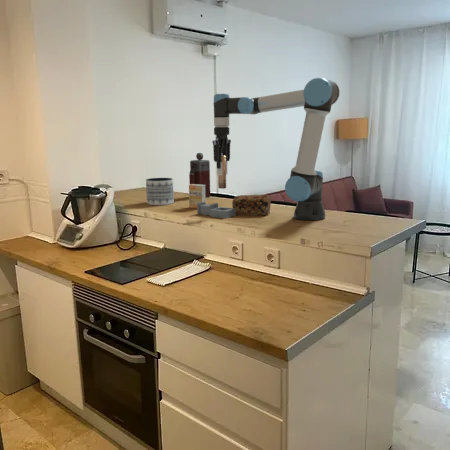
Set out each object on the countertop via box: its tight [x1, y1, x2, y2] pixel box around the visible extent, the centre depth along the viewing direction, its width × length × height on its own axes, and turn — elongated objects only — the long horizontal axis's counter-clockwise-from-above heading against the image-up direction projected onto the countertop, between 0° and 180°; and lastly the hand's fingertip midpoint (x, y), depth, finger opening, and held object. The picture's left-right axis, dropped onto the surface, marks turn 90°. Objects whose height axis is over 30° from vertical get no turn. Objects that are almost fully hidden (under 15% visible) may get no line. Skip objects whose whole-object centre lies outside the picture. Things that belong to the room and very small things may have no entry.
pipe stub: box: [217, 156, 227, 189], centre depth 231 cm, size 4×4×16 cm
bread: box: [231, 194, 272, 216], centre depth 240 cm, size 19×11×10 cm, turn 76°
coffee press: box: [188, 152, 211, 198], centre depth 296 cm, size 9×11×28 cm
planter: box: [145, 177, 175, 206], centre depth 276 cm, size 16×16×14 cm
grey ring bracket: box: [196, 201, 236, 219], centre depth 238 cm, size 10×19×6 cm, turn 58°
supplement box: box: [188, 183, 206, 209], centre depth 259 cm, size 8×5×13 cm, turn 68°
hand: (222, 174), depth 232 cm, fingers closed on pipe stub, 4 cm apart
